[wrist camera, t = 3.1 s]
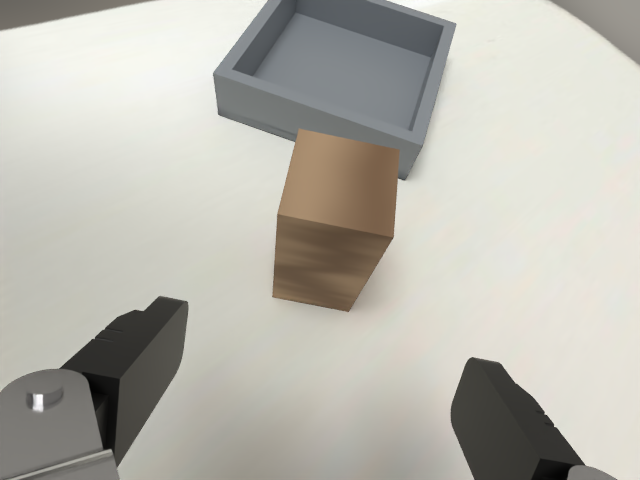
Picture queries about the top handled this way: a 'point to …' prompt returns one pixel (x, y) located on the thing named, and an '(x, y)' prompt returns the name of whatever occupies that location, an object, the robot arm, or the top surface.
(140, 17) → the top surface
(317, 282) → the walnut block
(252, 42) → the box
